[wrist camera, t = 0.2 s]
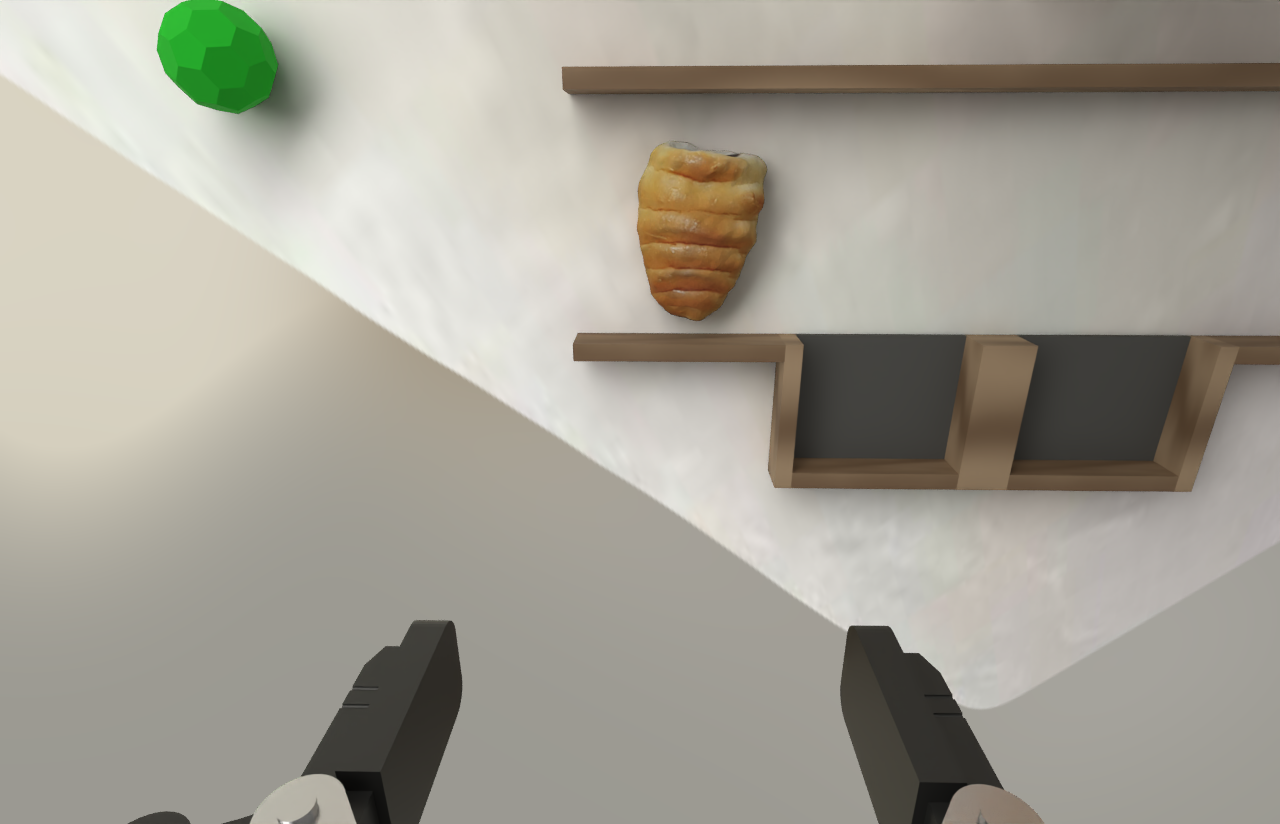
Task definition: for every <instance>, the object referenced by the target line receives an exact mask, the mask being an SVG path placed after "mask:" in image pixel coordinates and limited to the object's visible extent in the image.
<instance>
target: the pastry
mask: <svg viewBox="0 0 1280 824" xmlns="http://www.w3.org/2000/svg"><path fill="white" fill-rule="evenodd" d="M766 172H767V167H766V165H765V163H764V161H763V160H762V159H760V158H759V157H758V156H755V155H750V154H745V153H740V154H737V153H734V152H730V151H715V150H712V151H711V150H706V151H702V150H699V149H698V148H696V147H695V146H693V145H692V144H689V143H687V142H676V141H670V142H666V143H663V144H661V145H659V146H658V147H656V148H655V149H654V150H653V152H652V153H651V155H650V159H649V163H648V166H647V168H646V170H645V172H644V174H643V176H642V177H641V180H640V182H639V187H638V199H639V208H638V223H637V232H638V235H639V240H640V248H641V251H642V255H643V259H644V265H645V268H646V274H647V277H648V281H649V285H650V290H651V294H652V296H653V297H654V298H655V299H656V301H657V302H658V303H659V304H660V305H661V306H662V307H663V308H664V309H665V310H666V311H667V312H669V313H670V314H672V315H676V316H679V317H685V318H688V319H690V320H695V321H700V320H702V319H704V318H706V317H707V316H708V315H710V314H711V313H712V312H714V311H716V310H717V309H718V308H720V307H721V305H722V304H723V302H724V300H725V298H726V296H727V294H728V292H729V291H730V290H731V289H732V288H733V287H734V286H735V282H736V280H737V279H738V277H739V276H740V273H741V269H742V267H743V265H744V262H745V258H746V256H747V254H748V253H749V251H750V249H751V248H752V247H753V246H754V244H755V243H756V238H757V234H756V225H757V220H758V214H759V212H760V211H761V210H762V208H763V204H764V192H763V181H764V177H765V175H766Z"/></svg>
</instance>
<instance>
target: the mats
mask: <svg viewBox="0 0 1280 824" xmlns="http://www.w3.org/2000/svg"><path fill="white" fill-rule="evenodd" d="M795 335H796V336H797V337H798V338H799V340H800V341H801V342H802V343H803V345H804V348H803V359H802V370H801V382H800V393H799V404H798V415H797V426H796V437H795V448H794V458H865V459H944V458H945V453H946V447H947V442H948V436H949V431H950V425H951V419H952V414H953V408H954V403H955V397H956V392H957V386H958V381H959V375H960V370H961V364H962V359H963V353H964V348H965V342H966V335H914V334H795ZM1017 336H1019V337H1021V338H1023V339H1025V340H1027V341H1029V342H1031V343H1033V344H1035V345H1037V346H1038V350H1037V354H1036V359H1035V363H1034V368H1033V372H1032V377H1031V381H1030V386H1029V390H1028V395H1027V399H1026V404H1025V408H1024V413H1023V417H1022V422H1021V426H1020V431H1019V435H1018V440H1017V444H1016V449H1015V453H1014V458H1013V460H1110V461H1153V460H1154V457H1155V453H1156V450H1157V447H1158V444H1159V440H1160V437H1161V434H1162V431H1163V427H1164V424H1165V421H1166V418H1167V414H1168V411H1169V408H1170V405H1171V401H1172V398H1173V395H1174V391H1175V388H1176V385H1177V382H1178V378H1179V375H1180V372H1181V369H1182V365H1183V362H1184V359H1185V356H1186V352H1187V349H1188V346H1189V343H1190V339H1191V337H1190V336H1164V335H1017Z"/></svg>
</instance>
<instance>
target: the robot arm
mask: <svg viewBox="0 0 1280 824" xmlns="http://www.w3.org/2000/svg"><path fill="white" fill-rule="evenodd" d="M461 696H462V675H461V667H460V661H459V652H458V646H457V638H456V631H455V626H454V623H453V622H452V621H433V620H432V621H431V620H428V621H427V620H417V621H414V622H413V623H412V624H411V626H410V628H409V630H408V632H407V634H406V636H405V637H404V639H403V641H402V643H401V645H400V647H398V646H386V647H385V648H383V649H382V650H381V651H380V652H379V653H378V654H376V656H374V657H373V658H372V659H371V660H370V661H369V662H368V663H366V664H365V665H364V667H363V669H362V671H361V672H360V674H359V676H358V678H357V679H356V681H355V683H354V685H353V689H352V691H350V692H349V693H348V695H347V697H346V699H345V701H344V702H343V706H342V708H340V709H339V711H338V713H337V715H336V716H335V718H334V720H333V721H332V723H331V725H330V727H329V728H328V730H327V732H326V734H325V736H324V737H323V739H322V741H321V742H320V744H319V746H318V748H317V750H316V751H315V753H314V755H313V756H312V758H311V760H310V762H309V764H308V765H307V767H306V769H305V770H304V772H303V774H302V775H301V777H299V778H296V779H294V780H292V781H290V782H288V783H286V784H284V785H282V786H281V787H279V788H278V789H276V790H275V791H274V792H272V793H271V794H270V795H269V796H268V797H267V798H266V799H265V800H264V801H263V802H262V803H261V804H260V806H259V807H258V808H257V810H256V811H255V813H254V814H253V815H251V816H247V817H244V818H241V819H238V820H234V821H230V822H227V823H223V824H419V822H420V819H421V816H422V813H423V810H424V807H425V805H426V802H427V799H428V796H429V793H430V791H431V788H432V785H433V782H434V779H435V777H436V774H437V771H438V768H439V765H440V762H441V760H442V757H443V754H444V751H445V748H446V746H447V742H448V740H449V737H450V734H451V731H452V729H453V726H454V723H455V720H456V717H457V714H458V711H459V708H460V703H461ZM840 696H841V706H842V712H843V716H844V720H845V723H846V726H847V729H848V732H849V735H850V738H851V741H852V744H853V747H854V750H855V753H856V756H857V759H858V762H859V765H860V768H861V771H862V774H863V777H864V780H865V783H866V786H867V789H868V792H869V795H870V798H871V801H872V804H873V807H874V810H875V813H876V816H877V820H878V823H879V824H1044V822H1043V821H1042V819H1041V818H1040V817H1039V816H1038V814H1037V813H1036V812H1035V811H1034V810H1033V809H1032V808H1031V807H1030V806H1029V805H1027V804H1026V803H1025V802H1024V801H1022V800H1021V799H1020V798H1018V797H1017V796H1015V795H1013V794H1011V793H1010V792H1007V791H1005V790H1004V789H1003V787H1002V785H1001V783H1000V782H999V780H998V778H997V776H996V774H995V773H994V771H993V769H992V767H991V765H990V763H989V761H988V760H987V758H986V756H985V754H984V752H983V750H982V749H981V747H980V745H979V743H978V741H977V739H976V738H975V736H974V734H973V732H972V730H971V728H970V726H969V725H968V723H967V721H966V719H965V718H963V716H962V712H961V710H960V708H959V706H958V704H957V703H956V701H955V699H953V698H952V693H951V692H950V690H949V688H948V686H947V684H946V682H945V681H944V679H943V677H942V675H941V673H940V672H939V671H938V670H937V669H936V668H935V667H933V666H932V665H931V664H930V663H929V662H928V661H927V660H926V659H925V658H924V657H923V656H921V655H920V654H919V653H903V651H902V649H901V647H900V645H899V643H898V641H897V639H896V637H895V635H894V633H893V631H892V629H891V628H890V627H889V626H850V627H849V629H848V633H847V640H846V647H845V655H844V662H843V670H842V678H841V686H840ZM128 824H190V822H189V820H188V819H187V818H186V817H185V816H184V815H182V814H180V813H176V812H158V813H153V814H149V815H147V816H144V817H141V818H138V819H136V820H134V821H132V822H130V823H128Z"/></svg>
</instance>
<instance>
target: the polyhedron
mask: <svg viewBox="0 0 1280 824" xmlns="http://www.w3.org/2000/svg"><path fill="white" fill-rule="evenodd" d="M157 52H158V54H159V57H160V60H161V63H162V65H163V68H164V71H165V73H166V74H167V75H168V76H169V77H170V79H171V80H172V81H173V82H174V83H175V84H176V85H177V86H178V87H179V88H180V89H181V90H182V91H183V92H184V93H186V94H187V95H188V96H189V97H190V98H191V99H192V100H193V101H194V102H195V103H197V104H199V105H202V106H206V107H209V108H212V109H215V110H219V111H225V112H230V113H236V114H239V113H241V112H244V111H246V110H248V109H250V108H252V107H254V106H256V105H258V104H259V103H261V102H263V101H264V100H266V99H267V98H269V96H270V92H271V89H272V85H273V82H274V78H275V75H276V71H277V68H278V63H277V60H276V57H275V53H274V50H273V47H272V44H271V42H270V41H269V39H268V38H267V36H266V34H265V33H264V31H263V30H262V28H261V27H260V26H259V25H258V24H257V23H255V22H254V21H253V20H252V19H251V18H250V17H249V16H248V15H247V14H246V13H245V12H244V11H243V10H241V9H238V8H236V7H234V6H232V5H229V4H227V3H225V2H223V1H218V0H188V1H185V2H181V3H180V4H178V5H177V6H175V7H174V8H172V9H171V10H169V11H168V12H166V13H165V15H164V18H163V21H162V24H161V27H160V30H159V33H158V44H157Z"/></svg>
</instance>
